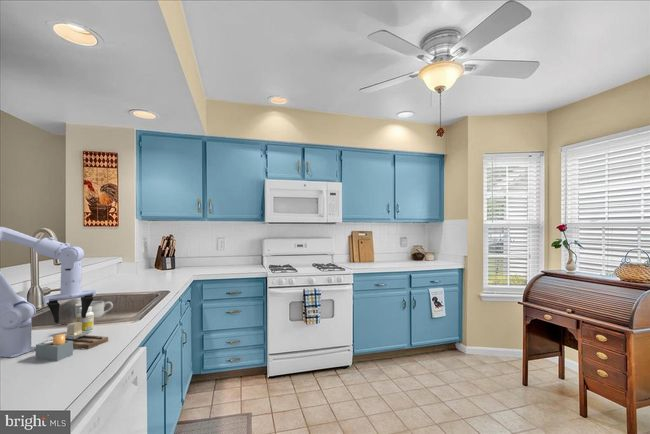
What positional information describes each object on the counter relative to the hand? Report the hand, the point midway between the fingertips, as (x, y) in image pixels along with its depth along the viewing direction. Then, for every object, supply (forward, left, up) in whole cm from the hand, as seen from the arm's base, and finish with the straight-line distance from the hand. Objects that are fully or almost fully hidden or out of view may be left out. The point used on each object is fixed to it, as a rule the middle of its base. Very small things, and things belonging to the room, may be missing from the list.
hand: (70, 319), depth 112 cm
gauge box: (+3, -8, -9) cm, 13 cm away
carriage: (-2, +4, -7) cm, 8 cm away
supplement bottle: (-10, +14, -10) cm, 20 cm away
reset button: (+5, -8, -7) cm, 12 cm away
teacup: (-21, +28, -10) cm, 37 cm away
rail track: (+1, +3, -9) cm, 10 cm away
